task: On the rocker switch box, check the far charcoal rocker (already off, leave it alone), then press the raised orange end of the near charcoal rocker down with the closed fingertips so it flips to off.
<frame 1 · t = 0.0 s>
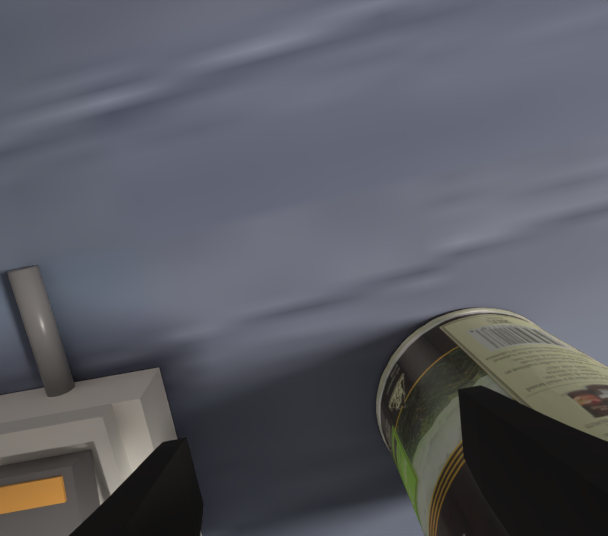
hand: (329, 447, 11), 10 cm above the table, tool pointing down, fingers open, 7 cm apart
coffee can: (469, 396, 23), on the table, touching gripper
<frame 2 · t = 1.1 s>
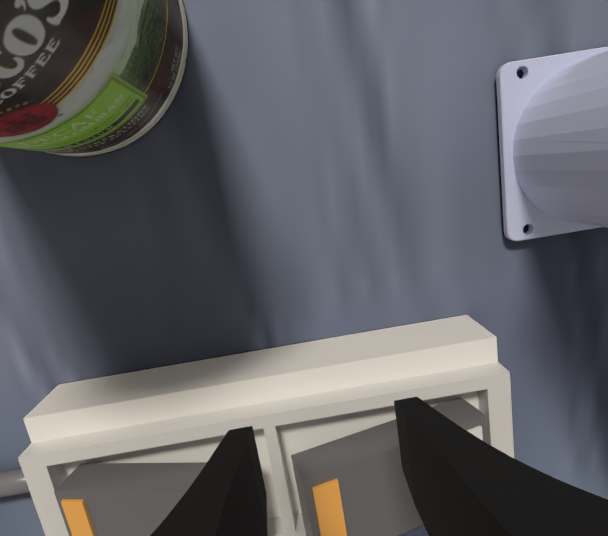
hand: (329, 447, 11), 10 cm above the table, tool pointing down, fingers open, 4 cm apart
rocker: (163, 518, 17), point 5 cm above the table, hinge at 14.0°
coffee can: (68, 30, 18), on the table
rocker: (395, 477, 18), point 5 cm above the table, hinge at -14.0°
rocker switch box: (279, 427, 22), on the table
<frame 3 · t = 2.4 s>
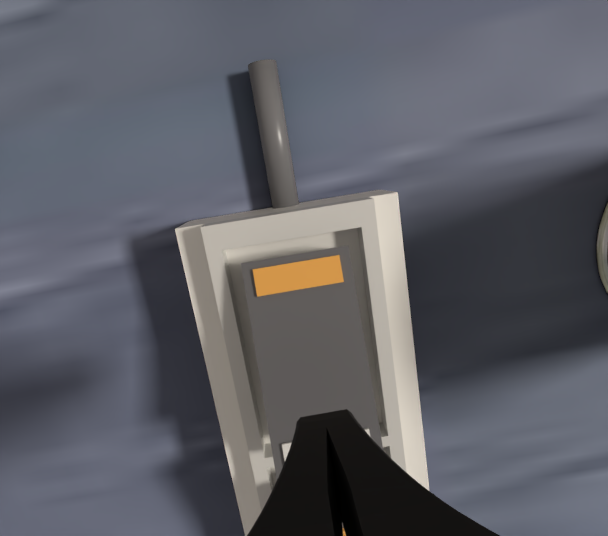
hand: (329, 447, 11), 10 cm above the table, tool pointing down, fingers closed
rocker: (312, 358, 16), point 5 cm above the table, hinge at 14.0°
rocker switch box: (318, 402, 22), on the table
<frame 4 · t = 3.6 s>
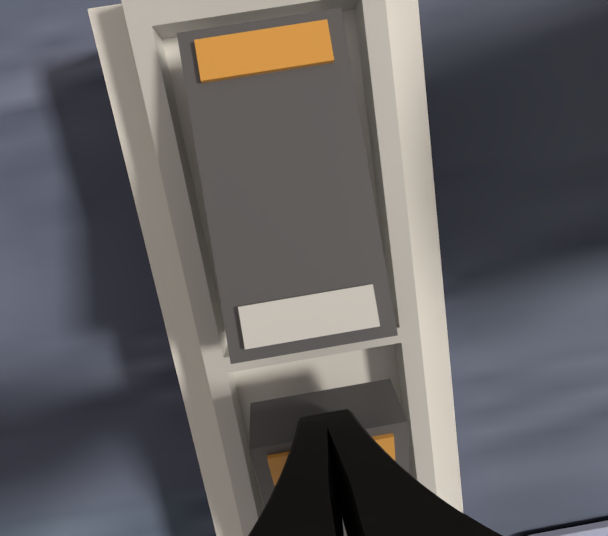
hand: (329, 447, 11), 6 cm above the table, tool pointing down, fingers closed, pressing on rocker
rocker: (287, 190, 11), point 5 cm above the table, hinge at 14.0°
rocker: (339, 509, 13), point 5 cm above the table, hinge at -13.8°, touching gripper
rocker switch box: (305, 309, 17), on the table
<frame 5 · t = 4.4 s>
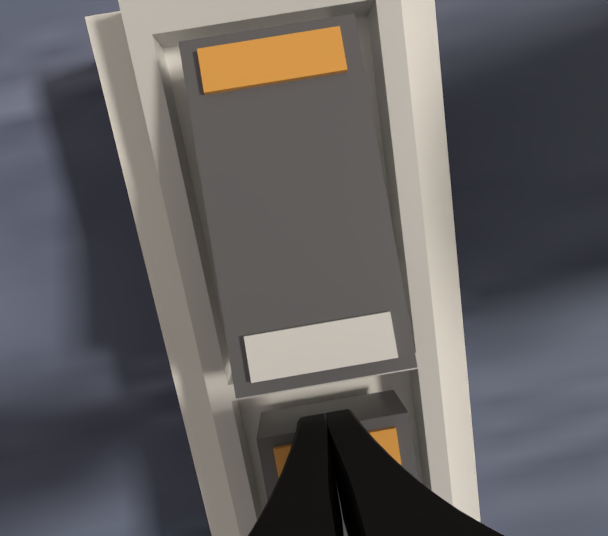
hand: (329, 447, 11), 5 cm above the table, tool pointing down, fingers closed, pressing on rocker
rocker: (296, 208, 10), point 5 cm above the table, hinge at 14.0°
rocker switch box: (313, 328, 16), on the table
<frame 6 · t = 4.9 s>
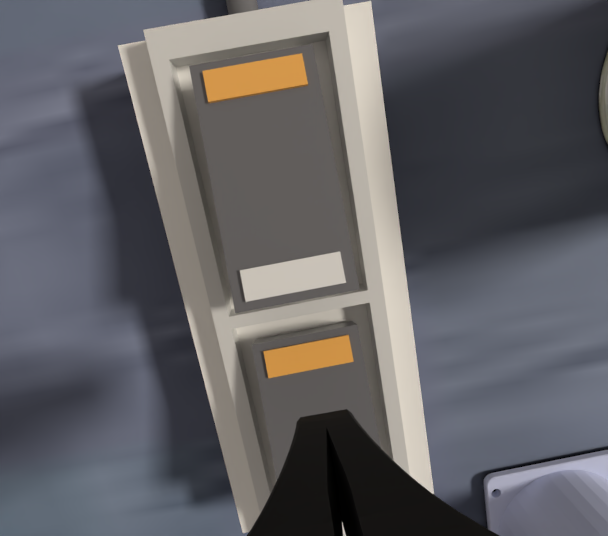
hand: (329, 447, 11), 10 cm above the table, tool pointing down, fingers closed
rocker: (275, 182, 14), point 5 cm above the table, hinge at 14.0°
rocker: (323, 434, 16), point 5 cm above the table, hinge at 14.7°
rocker switch box: (295, 283, 20), on the table
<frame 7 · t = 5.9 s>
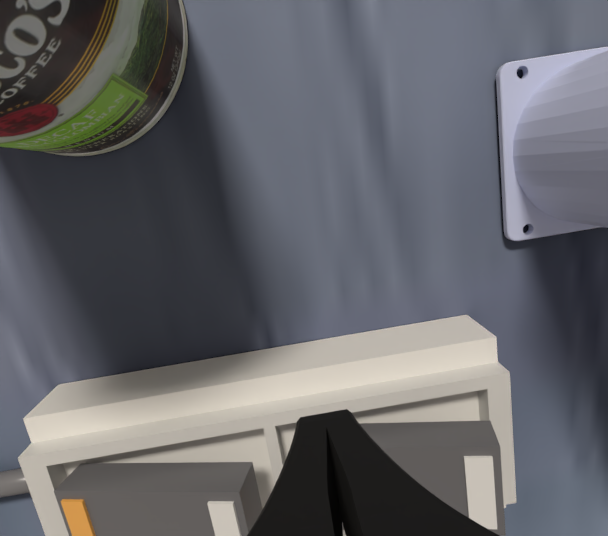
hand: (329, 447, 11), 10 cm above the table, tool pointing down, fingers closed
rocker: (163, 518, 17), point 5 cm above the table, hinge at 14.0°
coffee can: (68, 30, 18), on the table
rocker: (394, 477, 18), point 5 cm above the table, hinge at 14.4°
rocker switch box: (279, 427, 22), on the table
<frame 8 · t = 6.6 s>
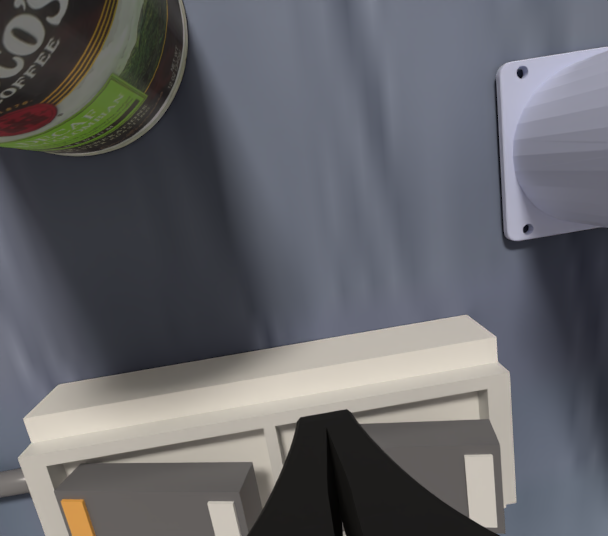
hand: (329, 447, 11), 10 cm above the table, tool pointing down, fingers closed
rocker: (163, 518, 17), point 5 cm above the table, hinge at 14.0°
coffee can: (68, 30, 18), on the table
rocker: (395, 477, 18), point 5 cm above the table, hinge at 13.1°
rocker switch box: (279, 427, 22), on the table
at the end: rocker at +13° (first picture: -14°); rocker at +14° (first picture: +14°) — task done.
